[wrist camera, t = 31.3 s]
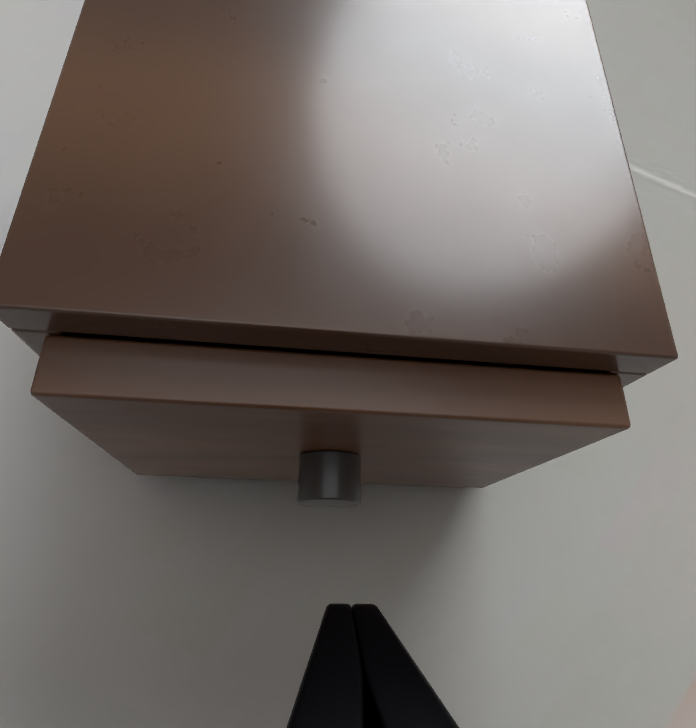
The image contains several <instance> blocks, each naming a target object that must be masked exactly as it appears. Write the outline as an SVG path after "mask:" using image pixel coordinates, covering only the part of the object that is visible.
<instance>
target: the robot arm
mask: <svg viewBox="0 0 696 728" xmlns="http://www.w3.org/2000/svg"><path fill="white" fill-rule="evenodd" d="M286 728H459V727H458V725H457V724H456V722H455V721H454V719H453V718H452V716H451V715H450V713H449V712H448V711H447V709H446V708H445V706H444V705H443V703H442V702H441V700H440V699H439V697H438V696H437V694H436V693H435V691H434V690H433V688H432V687H431V685H430V684H429V682H428V681H427V680H426V678H425V677H424V675H423V674H422V672H421V671H420V669H419V668H418V666H417V665H416V663H415V662H414V660H413V659H412V657H411V656H410V654H409V653H408V651H407V650H406V649H405V647H404V646H403V644H402V643H401V641H400V640H399V638H398V637H397V635H396V634H395V632H394V631H393V629H392V628H391V626H390V625H389V623H388V622H387V620H386V619H385V618H384V616H383V615H382V613H381V612H380V610H379V609H378V607H377V606H376V605H374V604H354V605H352V607H351V606H350V605H349V604H329V605H328V606H327V607H326V610H325V613H324V616H323V619H322V622H321V625H320V628H319V631H318V634H317V637H316V640H315V643H314V646H313V649H312V652H311V655H310V658H309V661H308V664H307V667H306V670H305V673H304V676H303V679H302V682H301V685H300V688H299V691H298V694H297V697H296V700H295V703H294V706H293V709H292V712H291V715H290V718H289V721H288V724H287V727H286Z"/></svg>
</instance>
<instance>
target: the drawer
mask: <svg viewBox="0 0 696 728" xmlns="http://www.w3.org/2000/svg"><path fill="white" fill-rule="evenodd" d="M141 338H142V340H143V342H139V341H125V340H110V339H96V338H82V337H68V336H54V335H48V336H46V337H45V339H44V342H43V346H42V350H41V354H40V357H39V361H38V365H37V368H36V372H35V376H34V379H33V383H32V387H31V395H32V396H34V397H35V398H36V399H38V400H39V401H40V402H42V403H43V404H44V405H46V406H47V407H48V408H50V409H51V410H52V411H53V412H55V413H56V414H57V415H59V416H60V417H61V418H63V419H64V420H65V421H67V422H68V423H69V424H71V425H72V426H73V427H75V428H76V429H77V430H79V431H80V432H81V433H83V434H84V435H85V436H87V437H88V438H89V439H91V440H92V441H93V442H94V443H96V444H97V445H98V446H100V447H101V448H102V449H104V450H105V451H106V452H108V453H109V454H110V455H112V456H113V457H114V458H116V459H117V460H118V461H120V462H121V463H122V464H124V465H125V466H126V467H128V468H129V469H130V470H132V471H133V472H134V473H135V474H138V475H164V476H190V477H216V478H242V479H268V480H294V481H298V496H297V502H298V503H299V504H301V505H305V506H312V507H328V508H338V507H352V506H357V505H359V504H360V502H361V483H372V484H398V485H424V486H450V487H476V488H483V487H485V486H488V485H490V484H493V483H495V482H498V481H500V480H503V479H505V478H508V477H510V476H512V475H515V474H517V473H520V472H522V471H525V470H527V469H530V468H532V467H535V466H537V465H540V464H542V463H545V462H547V461H549V460H552V459H554V458H557V457H559V456H562V455H564V454H567V453H569V452H572V451H574V450H577V449H579V448H582V447H584V446H586V445H589V444H591V443H594V442H596V441H599V440H601V439H604V438H606V437H609V436H611V435H614V434H616V433H619V432H621V431H624V430H626V429H628V428H630V420H629V416H628V411H627V406H626V401H625V396H624V391H623V387H622V382H621V378H620V376H618V375H608V374H594V373H580V372H565V371H551V370H537V369H523V368H511V367H512V366H513V365H514V364H507V363H493V362H479V361H465V360H451V359H437V358H423V357H409V356H395V355H381V354H367V353H360V354H359V355H357V356H355V357H352V356H338V355H324V354H309V353H295V352H285V351H284V350H282V349H281V348H280V347H269V346H255V345H241V344H227V343H213V342H199V341H185V340H171V339H157V338H143V337H141Z"/></svg>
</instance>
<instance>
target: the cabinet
mask: <svg viewBox="0 0 696 728" xmlns="http://www.w3.org/2000/svg"><path fill="white" fill-rule="evenodd" d="M0 320H1V321H2V322H3V323H4V324H5V325H6V326H7V327H9V328H11V329H12V331H13V332H14V333H15V334H16V335H17V336H18V337H20V338H21V339H22V340H23V341H24V342H25V343H26V344H27V345H28V346H29V347H30V348H31V349H32V350H33V351H34V352H35V353H36V354H37V355H38V356H40V354H41V350H42V346H43V342H44V339H45V337H46V336H48V335H54V336H68V337H82V338H96V339H110V340H125V341H139V342H143V340H142V338H141V337H143V338H157V339H171V340H185V341H199V342H213V343H227V344H241V345H255V346H269V347H283V348H297V349H311V350H325V351H339V352H353V353H367V354H381V355H395V356H409V357H423V358H437V359H451V360H465V361H479V362H493V363H507V364H514V365H513V366H512V367H511V368H523V369H537V370H551V371H565V372H580V373H594V374H608V375H618V376H620V378H621V382H622V387H624V386H626V385H628V384H630V383H632V382H634V381H636V380H638V379H639V378H641V377H643V376H645V375H646V374H648V373H651V372H653V371H655V370H657V369H658V368H660V367H662V366H664V365H666V364H668V363H670V362H672V361H674V360H675V359H677V358H678V354H677V351H676V347H675V343H674V339H673V335H672V331H671V327H670V323H669V320H668V316H667V312H666V308H665V304H664V300H663V296H662V292H661V288H660V285H659V281H658V277H657V273H656V269H655V265H654V261H653V257H652V254H651V250H650V246H649V242H648V238H647V234H646V230H645V226H644V222H643V219H642V215H641V211H640V207H639V203H638V199H637V195H636V191H635V188H634V184H633V180H632V176H631V172H630V168H629V164H628V160H627V156H626V153H625V149H624V145H623V141H622V137H621V133H620V129H619V125H618V122H617V118H616V114H615V110H614V106H613V102H612V98H611V94H610V90H609V87H608V83H607V79H606V75H605V71H604V67H603V63H602V59H601V56H600V52H599V48H598V44H597V40H596V36H595V32H594V28H593V24H592V21H591V17H590V13H589V9H588V5H587V1H586V0H85V1H84V4H83V8H82V11H81V14H80V17H79V20H78V23H77V26H76V29H75V32H74V35H73V38H72V41H71V44H70V47H69V50H68V53H67V56H66V59H65V62H64V65H63V68H62V71H61V74H60V77H59V80H58V83H57V86H56V89H55V92H54V95H53V99H52V102H51V105H50V108H49V111H48V114H47V117H46V120H45V123H44V126H43V129H42V132H41V135H40V138H39V141H38V144H37V147H36V150H35V153H34V156H33V159H32V162H31V165H30V168H29V171H28V174H27V177H26V180H25V183H24V186H23V189H22V193H21V196H20V199H19V202H18V205H17V208H16V211H15V214H14V217H13V220H12V223H11V226H10V229H9V232H8V235H7V238H6V241H5V244H4V247H3V250H2V253H1V256H0Z"/></svg>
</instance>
